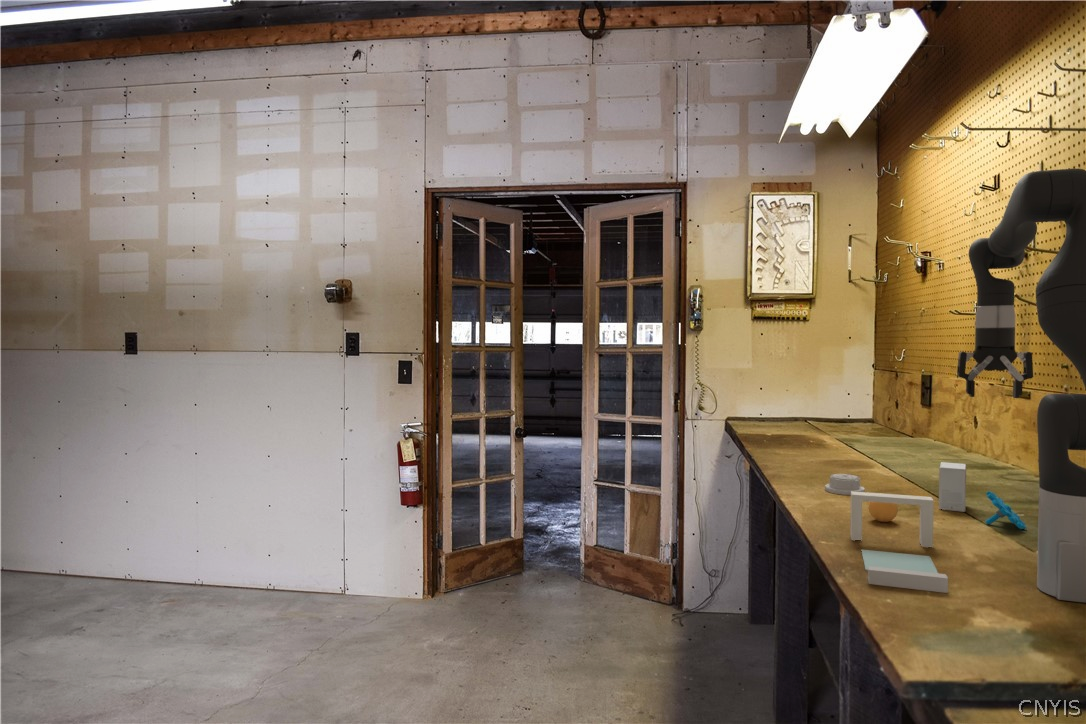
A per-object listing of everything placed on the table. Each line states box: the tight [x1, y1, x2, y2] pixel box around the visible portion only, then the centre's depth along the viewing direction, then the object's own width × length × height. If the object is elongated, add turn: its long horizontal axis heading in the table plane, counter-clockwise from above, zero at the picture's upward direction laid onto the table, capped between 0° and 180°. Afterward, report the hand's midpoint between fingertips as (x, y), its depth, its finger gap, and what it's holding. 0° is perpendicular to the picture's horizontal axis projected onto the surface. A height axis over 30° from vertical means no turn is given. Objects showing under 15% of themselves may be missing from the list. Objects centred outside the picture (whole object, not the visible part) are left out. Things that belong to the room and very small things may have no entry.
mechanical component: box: [824, 473, 866, 496], centre depth 184 cm, size 10×4×10 cm
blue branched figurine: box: [984, 490, 1027, 530], centre depth 151 cm, size 11×6×10 cm
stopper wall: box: [867, 566, 949, 594], centre depth 116 cm, size 2×12×2 cm, turn 68°
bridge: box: [850, 491, 935, 549], centre depth 140 cm, size 3×15×10 cm, turn 68°
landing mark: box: [860, 549, 939, 574], centre depth 127 cm, size 12×12×1 cm
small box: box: [938, 461, 967, 513], centre depth 166 cm, size 8×6×10 cm
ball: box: [868, 502, 899, 523], centre depth 155 cm, size 6×6×6 cm
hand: (993, 397), depth 154 cm, fingers open, 8 cm apart
